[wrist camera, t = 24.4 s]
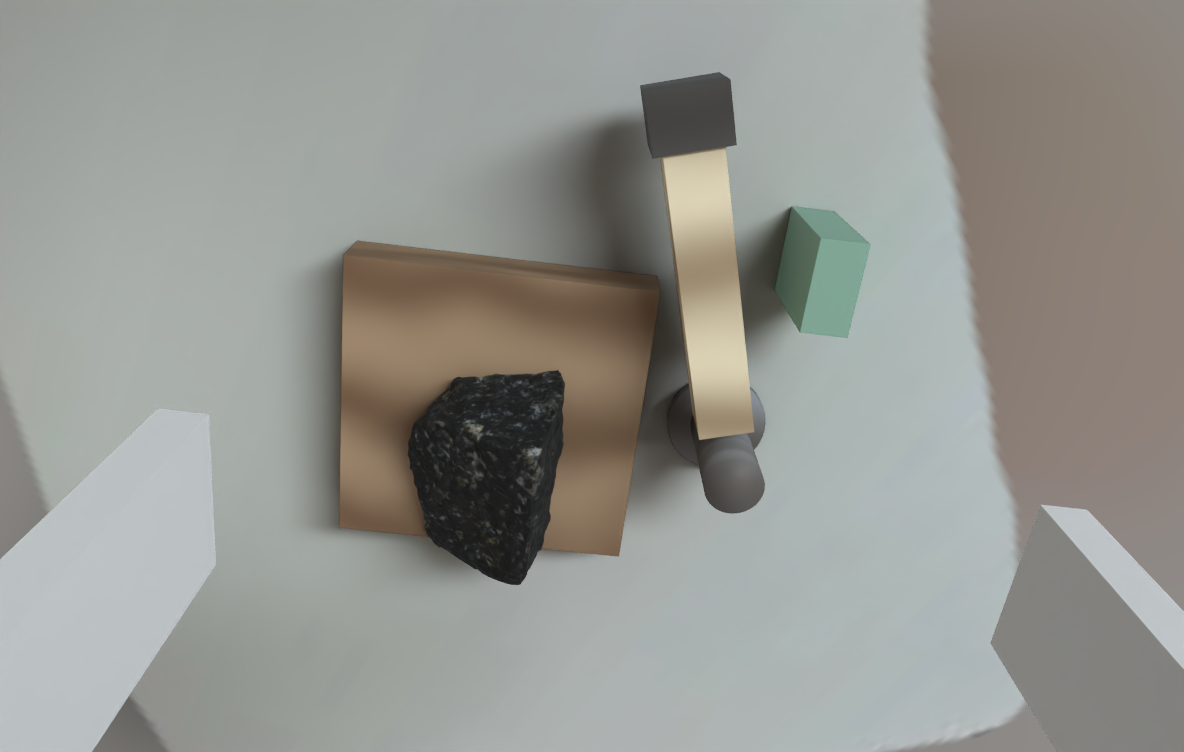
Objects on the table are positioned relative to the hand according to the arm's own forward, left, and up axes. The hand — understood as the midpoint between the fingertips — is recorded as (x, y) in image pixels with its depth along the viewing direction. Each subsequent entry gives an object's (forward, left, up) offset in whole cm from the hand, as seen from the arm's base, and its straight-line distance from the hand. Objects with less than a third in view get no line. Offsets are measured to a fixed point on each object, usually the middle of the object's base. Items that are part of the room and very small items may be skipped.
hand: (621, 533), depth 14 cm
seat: (+11, -1, -29) cm, 31 cm away
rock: (+13, -3, -26) cm, 30 cm away
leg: (+2, +4, -26) cm, 26 cm away
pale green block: (+2, +10, -29) cm, 30 cm away
